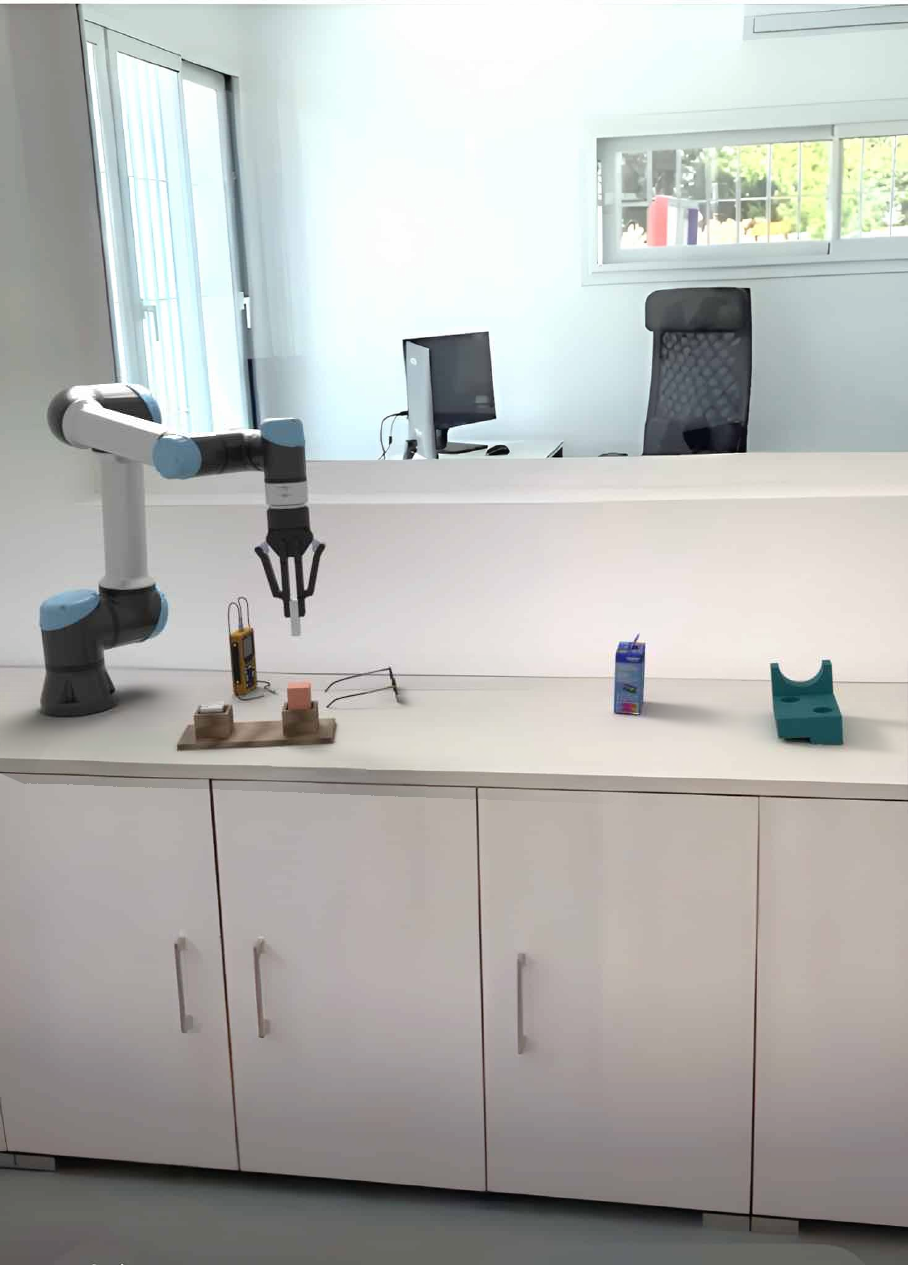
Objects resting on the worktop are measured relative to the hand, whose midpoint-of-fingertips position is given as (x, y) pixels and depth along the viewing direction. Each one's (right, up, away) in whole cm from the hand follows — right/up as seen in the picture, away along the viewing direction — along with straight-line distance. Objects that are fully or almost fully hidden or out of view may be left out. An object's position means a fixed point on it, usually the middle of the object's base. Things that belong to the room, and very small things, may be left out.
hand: (296, 634), depth 212 cm
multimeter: (-12, -12, +34) cm, 38 cm away
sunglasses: (+9, -14, +28) cm, 32 cm away
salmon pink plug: (0, -14, +4) cm, 15 cm away
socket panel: (-8, -19, +4) cm, 21 cm away
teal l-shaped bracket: (+93, -17, -1) cm, 95 cm away
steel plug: (-16, -18, +4) cm, 24 cm away
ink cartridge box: (+63, -15, +15) cm, 67 cm away
